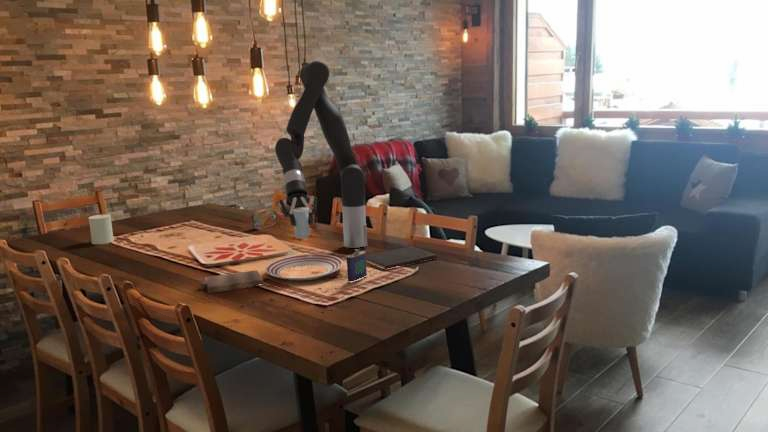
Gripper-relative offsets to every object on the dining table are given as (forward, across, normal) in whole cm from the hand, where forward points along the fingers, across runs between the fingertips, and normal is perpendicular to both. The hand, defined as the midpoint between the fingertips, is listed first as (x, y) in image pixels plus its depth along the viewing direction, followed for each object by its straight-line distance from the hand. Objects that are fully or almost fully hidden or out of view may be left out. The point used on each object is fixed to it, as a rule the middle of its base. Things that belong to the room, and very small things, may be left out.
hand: (302, 224), depth 226 cm
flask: (+22, +16, +4) cm, 27 cm away
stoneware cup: (+2, 0, +5) cm, 5 cm away
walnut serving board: (+14, -26, +11) cm, 32 cm away
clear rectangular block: (-44, -6, +70) cm, 83 cm away
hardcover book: (+11, +36, +16) cm, 41 cm away
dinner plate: (+12, 0, +14) cm, 19 cm away
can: (-46, -77, +72) cm, 115 cm away
